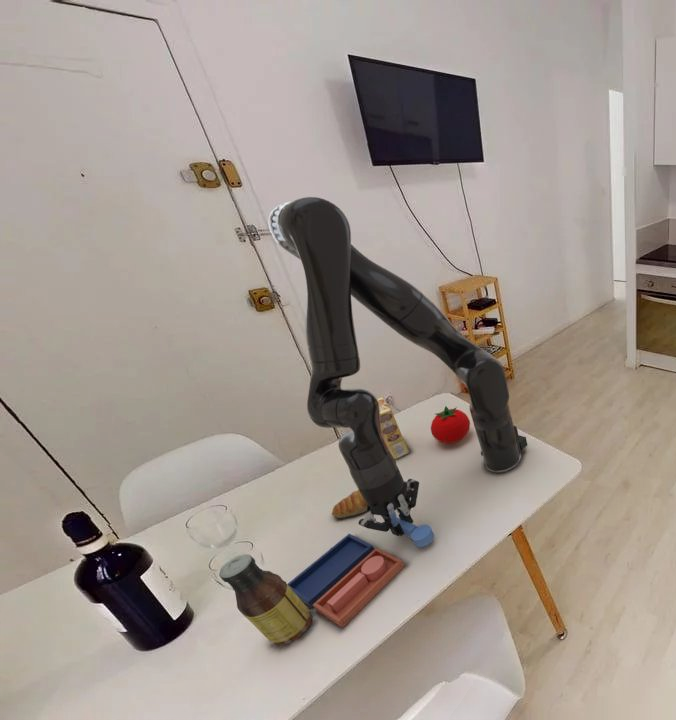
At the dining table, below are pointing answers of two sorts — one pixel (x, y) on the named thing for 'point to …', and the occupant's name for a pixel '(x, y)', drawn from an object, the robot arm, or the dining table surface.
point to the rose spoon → (358, 582)
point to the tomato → (450, 425)
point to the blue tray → (329, 569)
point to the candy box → (391, 431)
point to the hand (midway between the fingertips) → (404, 530)
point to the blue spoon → (417, 533)
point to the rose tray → (364, 595)
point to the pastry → (350, 506)
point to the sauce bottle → (266, 600)
